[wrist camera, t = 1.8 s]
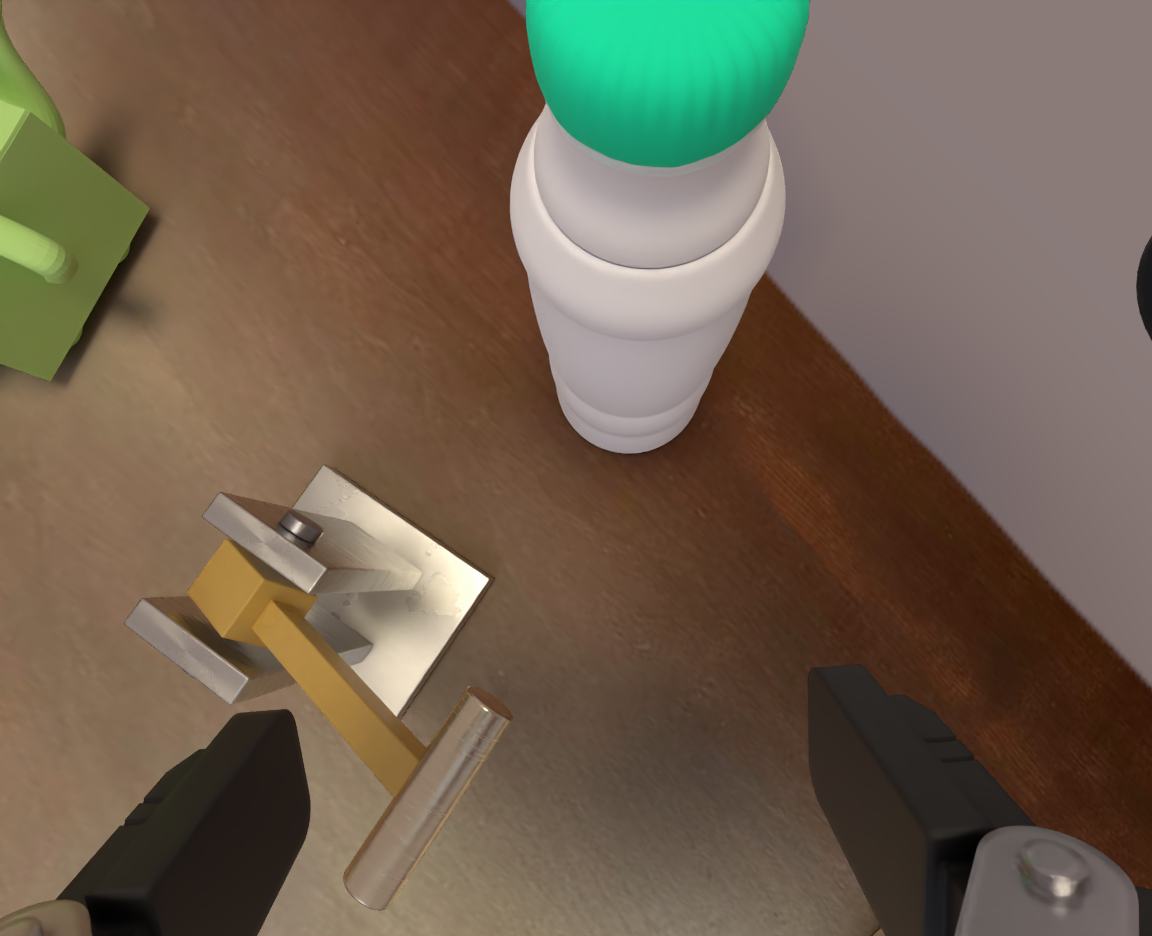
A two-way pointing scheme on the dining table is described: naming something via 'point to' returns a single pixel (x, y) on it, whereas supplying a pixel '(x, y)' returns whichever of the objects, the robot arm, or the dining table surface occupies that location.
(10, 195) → the teapot
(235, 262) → the dining table surface
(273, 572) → the lever
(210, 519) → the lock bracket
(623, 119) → the water bottle
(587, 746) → the dining table surface
